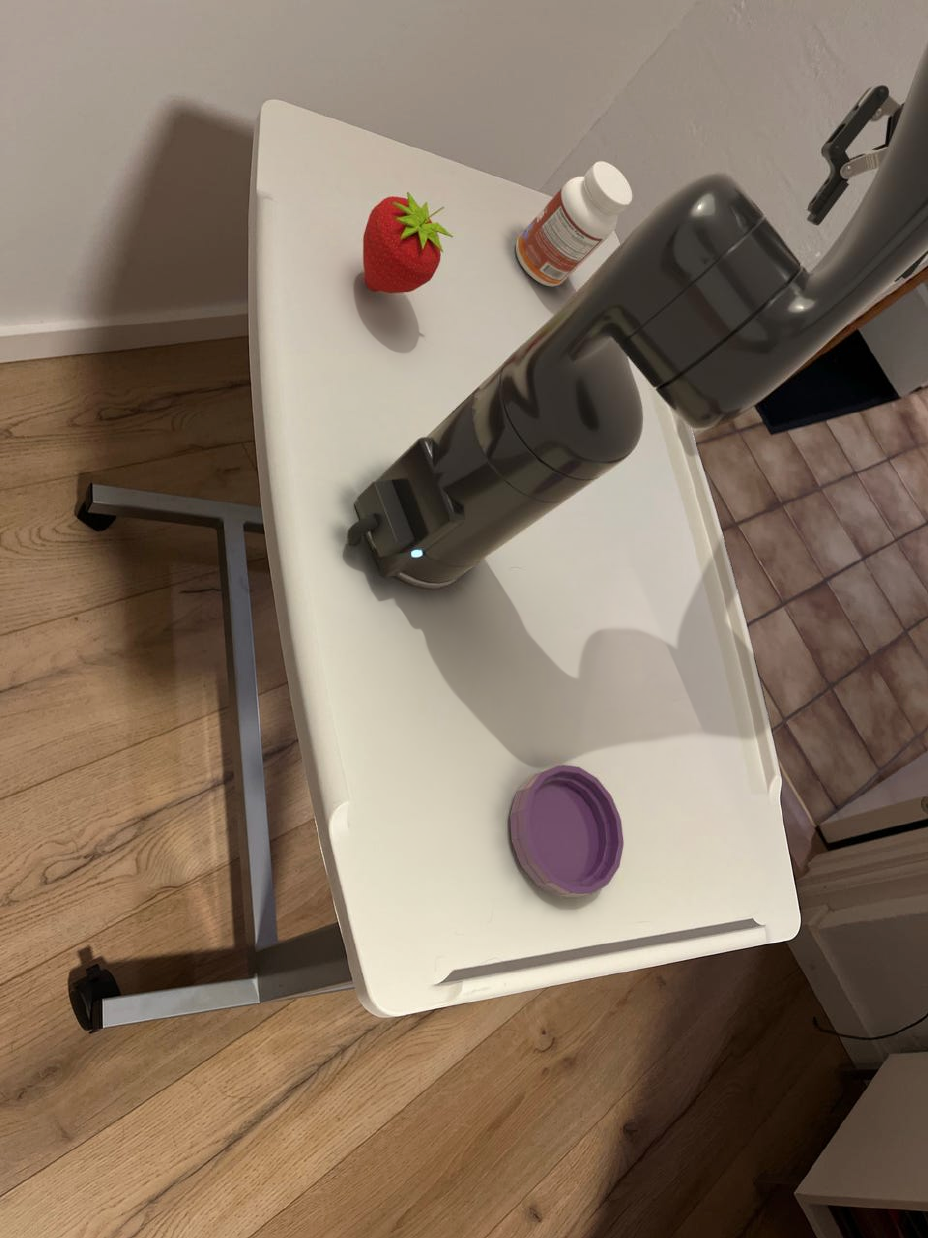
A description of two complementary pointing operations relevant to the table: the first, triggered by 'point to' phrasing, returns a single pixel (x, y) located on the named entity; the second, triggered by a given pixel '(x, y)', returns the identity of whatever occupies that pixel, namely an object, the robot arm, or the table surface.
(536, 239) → the pill bottle
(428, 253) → the strawberry
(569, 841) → the plum lid
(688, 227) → the robot arm
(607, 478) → the table surface
